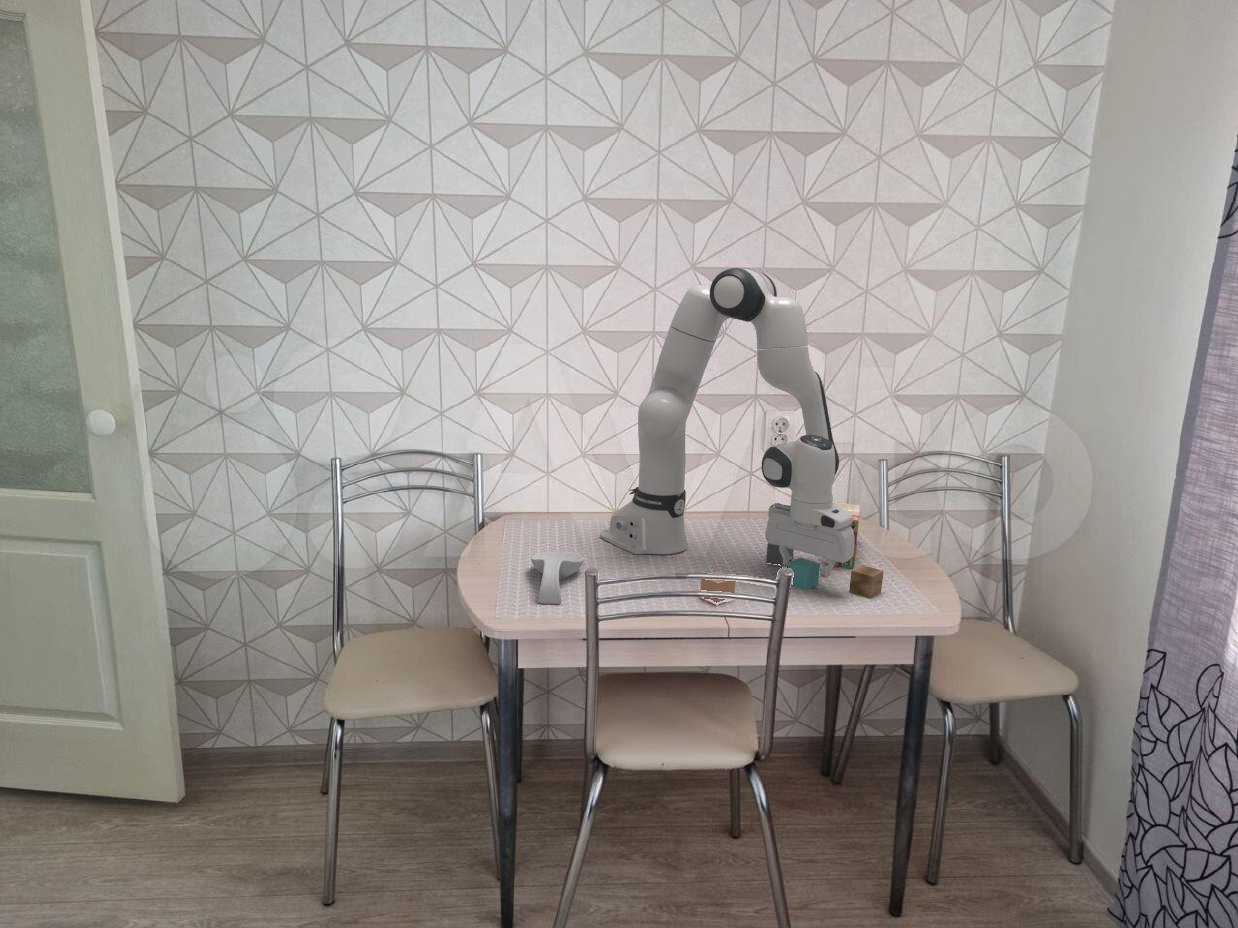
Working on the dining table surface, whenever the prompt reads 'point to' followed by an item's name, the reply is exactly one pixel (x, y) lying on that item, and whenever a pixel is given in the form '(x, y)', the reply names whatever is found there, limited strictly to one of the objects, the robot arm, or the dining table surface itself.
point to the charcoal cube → (776, 554)
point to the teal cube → (805, 573)
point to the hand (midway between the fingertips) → (806, 570)
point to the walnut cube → (866, 581)
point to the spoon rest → (555, 572)
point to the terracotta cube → (717, 586)
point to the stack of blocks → (855, 512)
